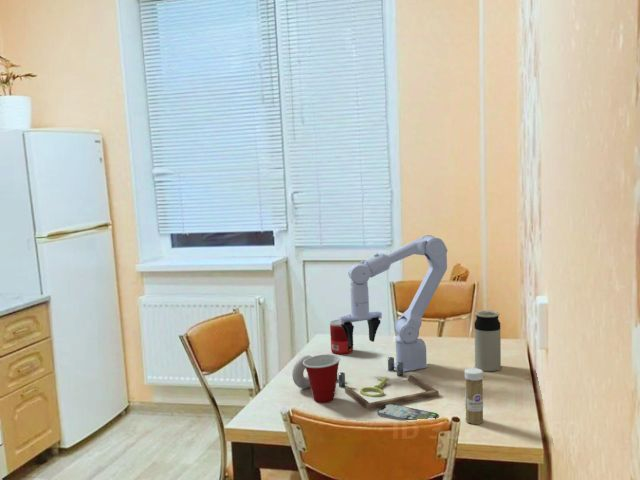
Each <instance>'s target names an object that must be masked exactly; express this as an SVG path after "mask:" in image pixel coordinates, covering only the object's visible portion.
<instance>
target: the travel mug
mask: <svg viewBox="0 0 640 480" xmlns="http://www.w3.org/2000/svg"><path fill="white" fill-rule="evenodd" d="M474 314H475V317H476V319H475V321H474V325H473V326H474V368H477V369H481V370H482V371H483V372H489V371H491V372H496V371H498V370H500V369H501V368H502V366H501V365H502V364H501V362H502V361H501V357H502V355H501V354H502V353H501V339H502V338H501V322H500V320H499V316H500V312H498V311H495V310H479V311H475V313H474Z"/></svg>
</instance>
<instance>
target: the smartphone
mask: <svg viewBox="0 0 640 480" xmlns="http://www.w3.org/2000/svg"><path fill="white" fill-rule="evenodd" d="M376 415H377V416H378V417H382V418H388V419H393V420H399V421H402V420H417V419H428V418H436V419H438V417H439V414H438V413H437V412H433V411H427V410H422V409H418V408H415V407H414V408H413V407H407V406H402V405H400V404H397V405H394V404H386V405H385V406H383V407H382V408H379V409H378V410H377V412H376Z"/></svg>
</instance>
